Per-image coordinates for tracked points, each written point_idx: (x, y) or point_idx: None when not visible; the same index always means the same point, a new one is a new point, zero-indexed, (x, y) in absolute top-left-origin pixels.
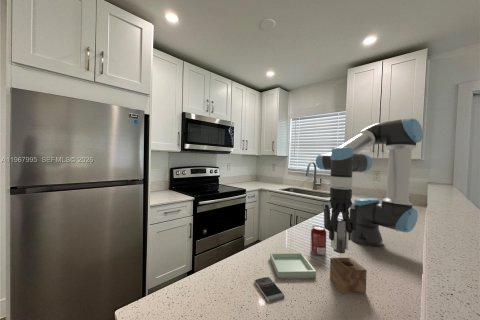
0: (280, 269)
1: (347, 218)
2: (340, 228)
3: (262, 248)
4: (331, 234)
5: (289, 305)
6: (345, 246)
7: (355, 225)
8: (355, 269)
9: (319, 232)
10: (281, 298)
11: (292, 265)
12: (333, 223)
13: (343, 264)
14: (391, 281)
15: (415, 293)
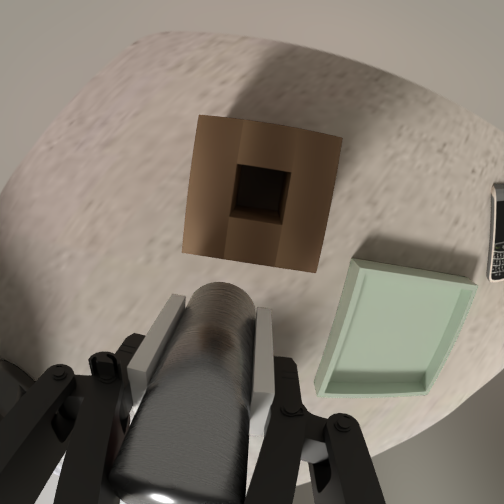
0: (440, 318)
1: (80, 491)
2: (218, 414)
3: (397, 431)
4: (295, 391)
5: (491, 158)
6: (180, 313)
7: (32, 392)
8: (261, 128)
9: None
10: (499, 186)
11: (389, 337)
12: (296, 477)
13: (292, 190)
14: (69, 185)
15: (55, 121)
